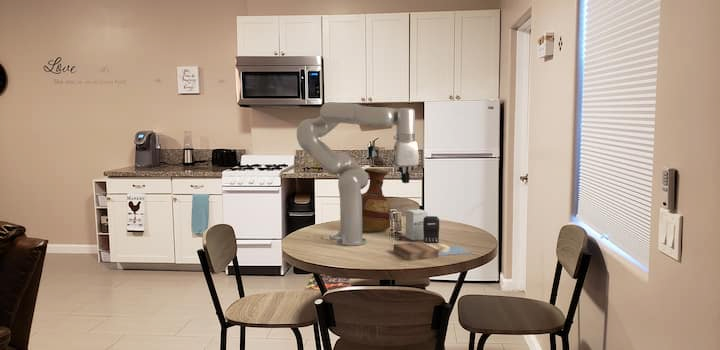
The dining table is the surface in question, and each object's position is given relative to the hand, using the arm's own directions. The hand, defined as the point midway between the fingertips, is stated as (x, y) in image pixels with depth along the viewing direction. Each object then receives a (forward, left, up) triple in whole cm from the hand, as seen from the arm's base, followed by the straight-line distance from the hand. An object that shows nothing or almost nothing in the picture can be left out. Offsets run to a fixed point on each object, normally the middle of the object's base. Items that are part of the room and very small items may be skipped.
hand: (405, 182), depth 228 cm
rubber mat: (+12, -13, -27) cm, 32 cm away
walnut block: (-2, -13, -27) cm, 30 cm away
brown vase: (0, +37, -27) cm, 46 cm away
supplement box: (+12, +13, -27) cm, 33 cm away
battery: (+14, +3, -27) cm, 31 cm away
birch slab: (+8, -13, -26) cm, 30 cm away
